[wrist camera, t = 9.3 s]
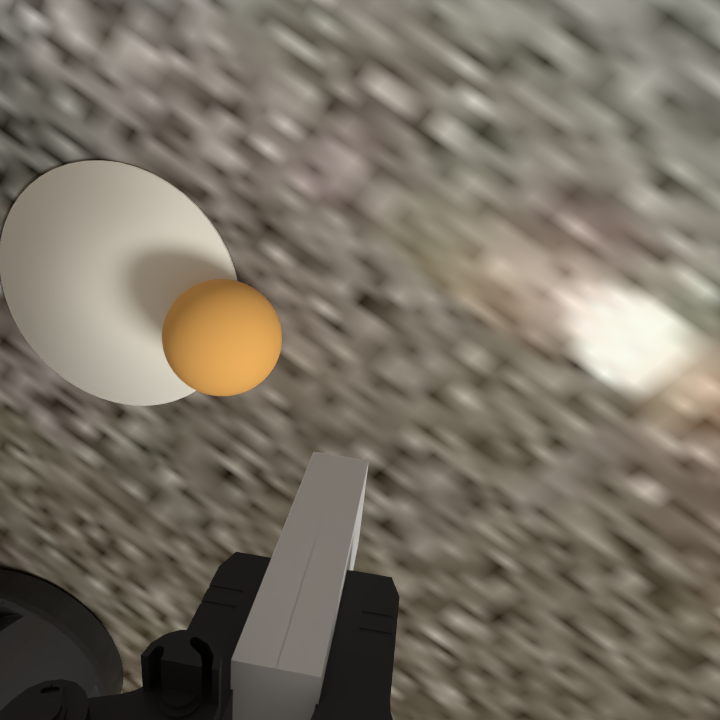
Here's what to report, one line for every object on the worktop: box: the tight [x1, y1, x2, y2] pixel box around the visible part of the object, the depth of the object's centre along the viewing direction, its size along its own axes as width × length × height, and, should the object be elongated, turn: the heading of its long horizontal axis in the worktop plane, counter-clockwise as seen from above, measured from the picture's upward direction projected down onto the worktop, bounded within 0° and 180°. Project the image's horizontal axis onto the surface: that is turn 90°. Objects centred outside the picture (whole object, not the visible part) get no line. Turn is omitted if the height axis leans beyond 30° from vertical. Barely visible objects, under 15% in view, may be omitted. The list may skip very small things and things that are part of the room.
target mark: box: [0, 160, 238, 406], centre depth 30 cm, size 13×13×1 cm
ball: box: [162, 279, 282, 396], centre depth 27 cm, size 6×6×6 cm
